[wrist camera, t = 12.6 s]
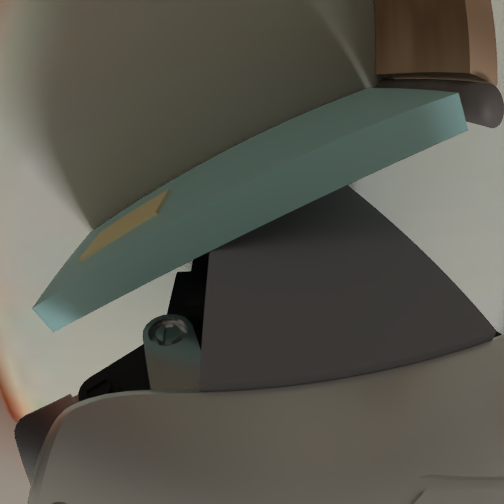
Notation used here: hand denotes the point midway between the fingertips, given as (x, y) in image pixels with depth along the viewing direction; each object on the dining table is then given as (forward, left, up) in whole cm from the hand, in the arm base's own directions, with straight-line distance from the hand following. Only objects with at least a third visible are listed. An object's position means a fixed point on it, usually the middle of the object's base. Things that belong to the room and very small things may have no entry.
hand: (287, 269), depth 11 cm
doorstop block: (0, 0, -2) cm, 2 cm away
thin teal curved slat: (-4, -2, -2) cm, 5 cm away
